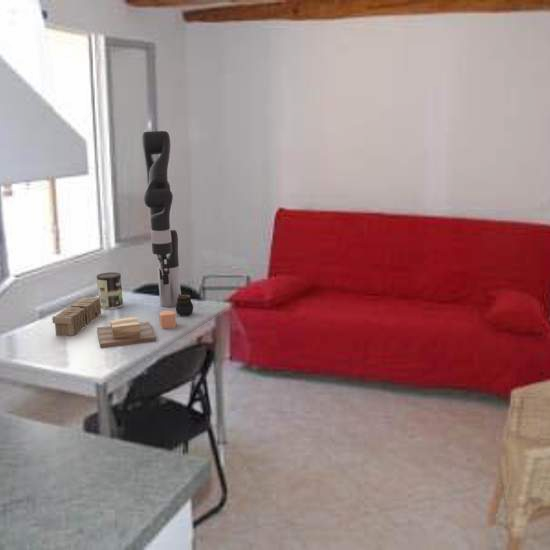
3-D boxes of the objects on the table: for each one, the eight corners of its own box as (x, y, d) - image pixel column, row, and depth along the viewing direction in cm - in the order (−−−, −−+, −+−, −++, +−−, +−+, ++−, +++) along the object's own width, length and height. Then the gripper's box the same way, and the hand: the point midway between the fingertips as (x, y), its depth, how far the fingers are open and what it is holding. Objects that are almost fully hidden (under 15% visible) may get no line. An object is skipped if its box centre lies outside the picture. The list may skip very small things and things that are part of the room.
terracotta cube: (159, 324, 263) (159, 311, 261) (173, 323, 264) (172, 310, 263) (162, 328, 257) (161, 315, 256) (176, 327, 259) (175, 313, 258)
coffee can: (125, 302, 295) (123, 271, 292) (120, 309, 285) (117, 277, 282) (102, 302, 296) (100, 272, 292) (96, 309, 285) (93, 278, 282)
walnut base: (97, 331, 257) (95, 317, 255) (148, 324, 262) (147, 311, 261) (100, 347, 238) (99, 333, 237) (155, 340, 244) (154, 326, 243)
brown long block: (84, 316, 280) (53, 336, 252) (82, 297, 278) (51, 315, 250) (102, 316, 279) (72, 337, 251) (100, 297, 277) (70, 315, 249)
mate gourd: (195, 312, 278) (194, 289, 275) (190, 317, 270) (189, 294, 268) (179, 311, 279) (178, 289, 276) (173, 317, 272) (172, 294, 269)
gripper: (174, 243, 247) (177, 285, 251) (168, 237, 260) (171, 276, 264) (154, 245, 245) (157, 287, 249) (149, 238, 258) (152, 278, 262)
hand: (164, 281), depth 256 cm, fingers open, 8 cm apart
